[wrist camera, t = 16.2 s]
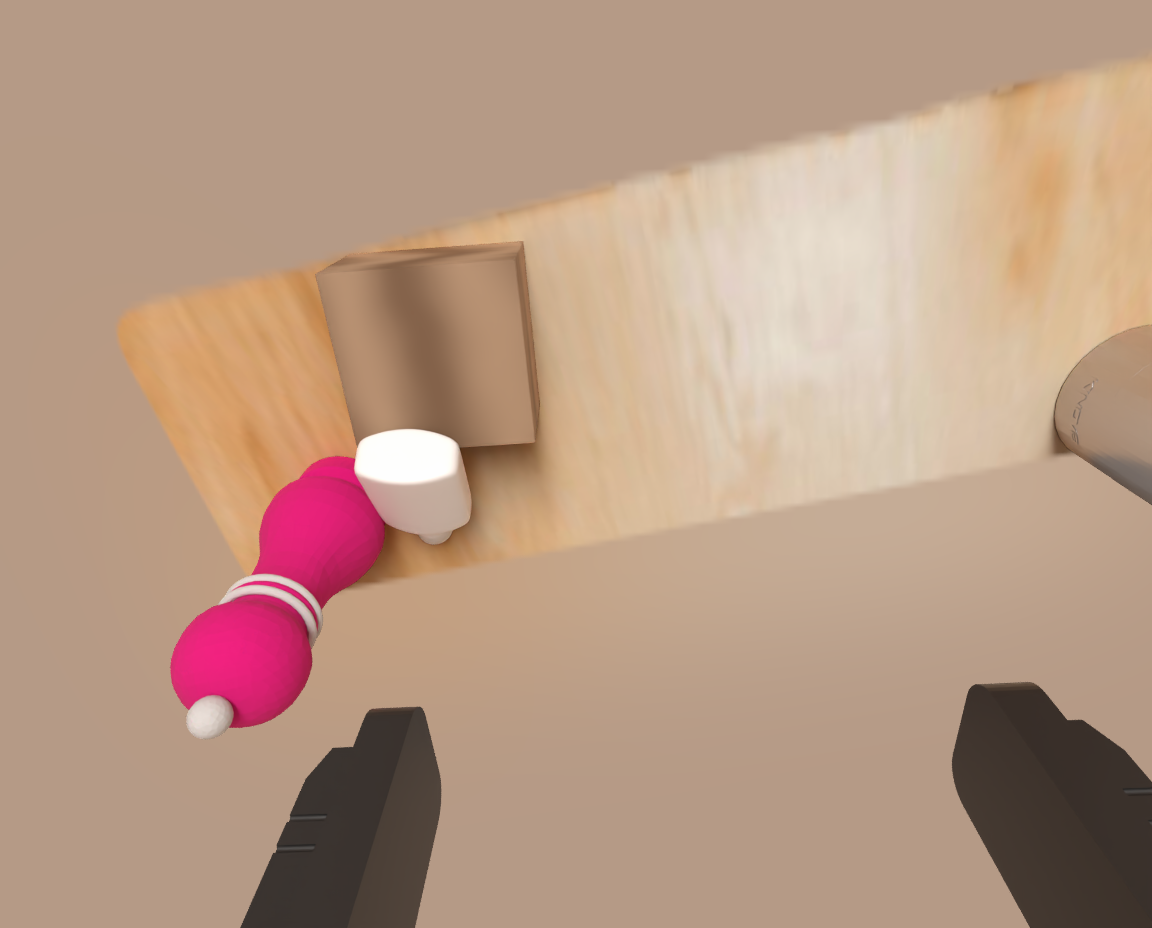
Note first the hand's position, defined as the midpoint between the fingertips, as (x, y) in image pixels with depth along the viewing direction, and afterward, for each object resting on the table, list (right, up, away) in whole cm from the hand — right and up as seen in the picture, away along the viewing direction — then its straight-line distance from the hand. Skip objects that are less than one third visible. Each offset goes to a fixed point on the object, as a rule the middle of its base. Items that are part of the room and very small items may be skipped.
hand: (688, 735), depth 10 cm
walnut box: (-9, +12, +31) cm, 34 cm away
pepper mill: (-17, +2, +36) cm, 40 cm away
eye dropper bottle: (-11, +5, +26) cm, 28 cm away
